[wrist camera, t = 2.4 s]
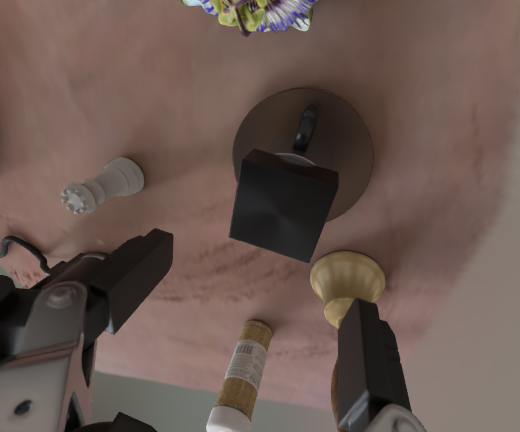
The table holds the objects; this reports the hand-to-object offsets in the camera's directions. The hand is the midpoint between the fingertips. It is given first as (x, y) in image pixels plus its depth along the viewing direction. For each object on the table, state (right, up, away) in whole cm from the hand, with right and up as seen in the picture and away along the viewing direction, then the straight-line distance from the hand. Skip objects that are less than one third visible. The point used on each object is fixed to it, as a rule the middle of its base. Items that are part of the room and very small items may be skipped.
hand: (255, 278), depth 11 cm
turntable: (+4, +8, +14) cm, 17 cm away
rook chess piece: (-15, +8, +20) cm, 26 cm away
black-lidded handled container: (+4, +8, +12) cm, 16 cm away
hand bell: (+10, -5, +19) cm, 23 cm away
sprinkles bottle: (0, -14, +28) cm, 31 cm away
